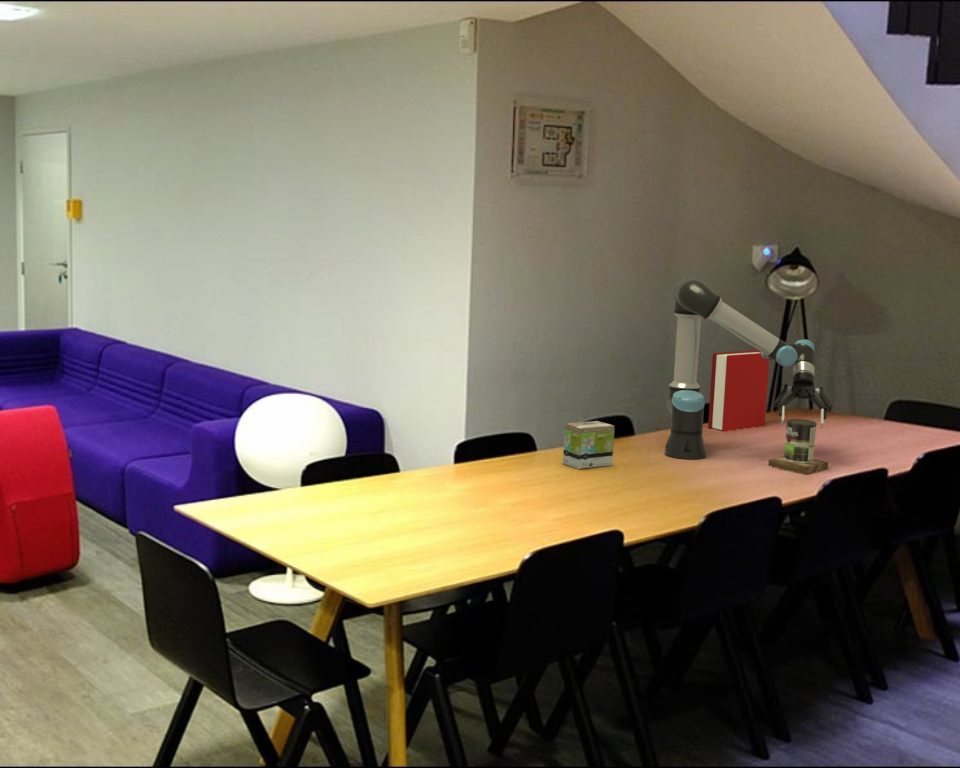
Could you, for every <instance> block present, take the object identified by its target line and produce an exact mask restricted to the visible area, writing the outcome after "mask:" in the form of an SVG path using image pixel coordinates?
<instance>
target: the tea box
mask: <svg viewBox="0 0 960 768" xmlns="http://www.w3.org/2000/svg"><path fill="white" fill-rule="evenodd" d="M564 426H565V427H564V439H563V455H562V464H563V465H565V466H566V465H567V466H569V467H572V468H575V469H577V470H582V469H587V468H598V467H611V466H612V465H613V458H614V457H613V455H614V444H615V443H614V442H615V440H614V439H615V425H613V424H610V423H606V422H603V421H602V422H601V421H599V420H594V421H583V422H571V423H565V424H564ZM610 465H611V466H610Z"/></svg>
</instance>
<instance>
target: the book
mask: <svg viewBox="0 0 960 768" xmlns="http://www.w3.org/2000/svg"><path fill="white" fill-rule="evenodd" d="M711 360H712V361H711V372H710V373H711V374H710V375H711V376H710V389H709V390H710V391H709V393H710V394H709V405H708V406H709V407H708V408H709V409H708V421H707V422H708V424H707V429H716V430H721V432H722V431H724V432H729V431H728V430H732V431H737V430H736V429H740V430H744V429H743V428H748V429H751V428H750V427H756V428H759V427H758V426H764V427H765V426H766V425H765V424H766V413H767V395H768V382H769V371H770V370H769V369H770V359H766V358H763V357H762V356H761V351H759V350H757V349H753V350H738V351H736V350H735V351H723V352H721V351H720V352H712V359H711Z"/></svg>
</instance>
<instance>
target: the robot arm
mask: <svg viewBox="0 0 960 768" xmlns="http://www.w3.org/2000/svg"><path fill="white" fill-rule="evenodd" d="M673 299H674V306H673V307H674V309H673V310H674V312H673V314H674V315H675V317H676V318H677V325H676V338H675V339H676V341H675V355H674V371H673V372H674V373H673V381H672V382H670V383H669V386H668V387H669V388H668V396H667V398H666V409H667V412H669V415H671V416H670V417H671V418H670V420H671V421H670V434H669V436H668V439H667V441H666V444H665V446H664V455H665V456H666V457H667V456H668V457H670V458H675V459H683V460H699V459H703V458H705V457H707V456H706V455H707V449H706V446H705V441H704V437H703V429H704V428H703V427H704V413H705V411H704V410H705V405H706V404H705V403H706V401H705V397H704V395H703V394H702V393H701V385H699V383H698V382H697V379H698V368H699V367H698V365H699V350H700V349H699V348H700V338H701V322H702V318H703V319H705V320H711V321H713V322H714V323H716V324H717V325H719V326H720V327H722V328H723V329H725V330H726V331H727V332H729V333H731V334H733V335H735V336H736V337H737V338H739V339H740V340H742V341H743V342H745V343H746V344H748V345H750V346H751V347H752V348H753V349H754V348H755V350H759V351H761V356H762V357H763V358H766V359H769V361H770V360H771V361H774V362H776V363H777V364H778V365H780V366H782V367H785V368H786V367H791V366H793V367H792V368H793V371H792V372H793V373H792V386H791V385H788V384H787V383H785V384H784V386H783V389H782V390H781V391H780V393H779V394H778V396H777V398H776V399H775V400H774V402H773V407H774V408H778V416H779V417H781V425H783V426H784V422H785V407H786V406H787V405H789V404H790V402H792V401H794V400H795V399H797V398H798V399H805V400H807V399H809V400H810V401H811V402H812V403H813V404H814V405H816V407H817V408H819V410H820V425H819V427H820V429H821V428H823V426H824V420H827V415H828V414H827V413H828V412H830V413H831V412H832V408H833V405H832V404H831V402H830V400H829V399H828V397H827V395H826V394H825V392H824V387H823V386H820V387H816V388H815V356H816V351H815V349H816V348H815V344H814V343H813V341H811V340H809V339H798V340H797V341H796V342H795V343H791V342H785V341H783V340H782V339H780V338H778V337H777V336H776V335H774V334H773V333H771V332H769V331H768V330H766V329H765V328H763V327H762V326H760V325H759V324H757V323H756V322H754V321H752V320H751V319H750V318H748V317H746V316H745V315H744V314H742V313H740V312H739V311H737V310H736V309H735V308H733V307H731V306H730V305H728V303H727V304H726V303H725V302H724V301H723V299H722V297H721V296H719V295H718V294H716V293H715V292H714V291H713V290H712V289H711V288H709V287H708V285H707V284H705V283H704V282H703V281H701V280H700V279H698V278H694V277H693V278H692V277H688V278H684V279H682V280H681V281H679V282H678V283H677V285H676V286H675V287H674V290H673ZM789 392H791V393H790V394H789V395H788V396H787V397H786V398H784V397H785V396H786V394H787V393H789ZM815 393H816V394H817V395H819V398H818V396H817V395H816V394H815Z"/></svg>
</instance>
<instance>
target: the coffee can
mask: <svg viewBox="0 0 960 768" xmlns="http://www.w3.org/2000/svg"><path fill="white" fill-rule="evenodd" d="M785 429H786V431H785V444H784V453H783V456H784V460H786V461H789V462H793V463H805V464H806V463H812V462H813V459H814V453H815V443H816V431H817V422H815V421H814V420H809V419H802V418H790V419H787V420H786V428H785Z"/></svg>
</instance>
